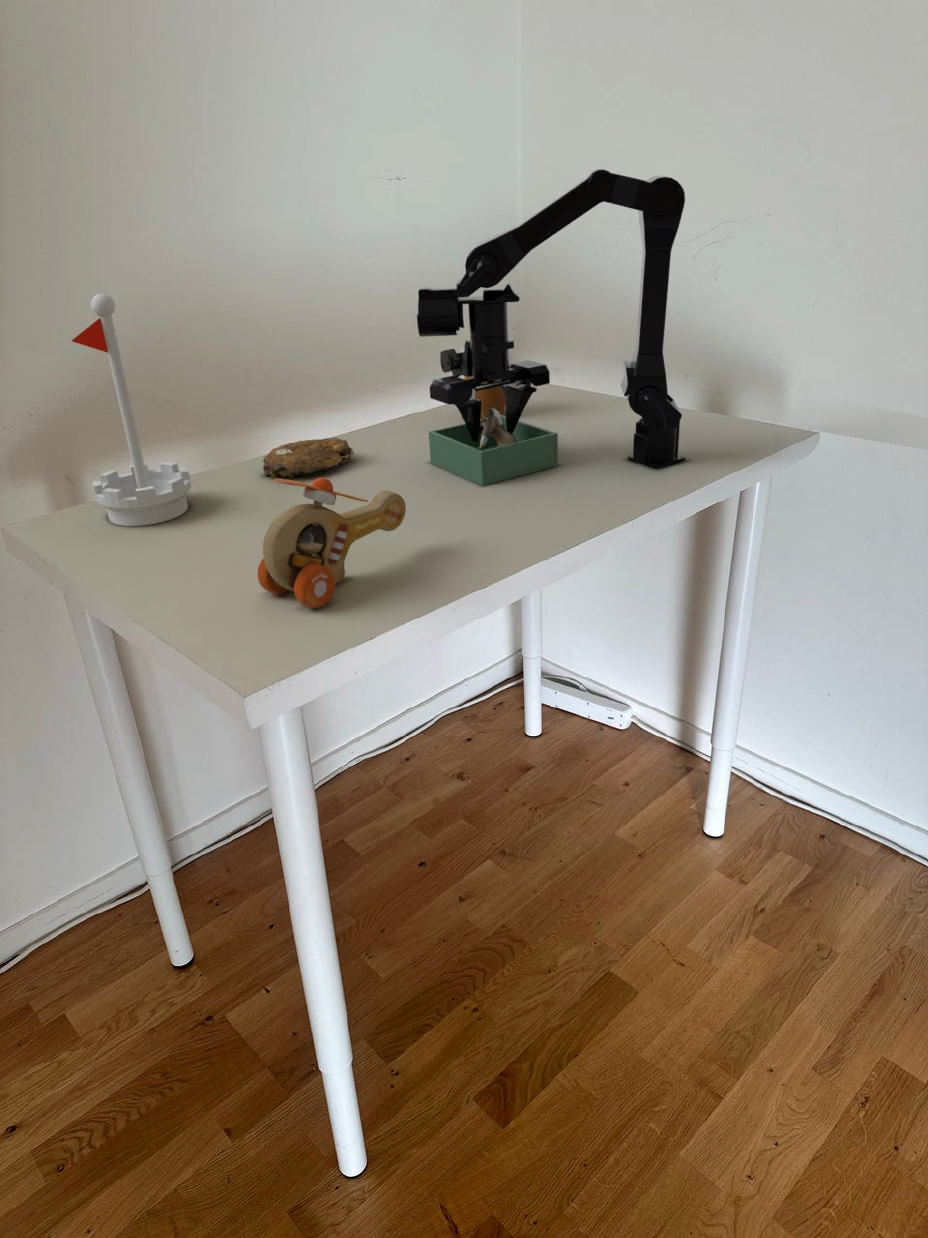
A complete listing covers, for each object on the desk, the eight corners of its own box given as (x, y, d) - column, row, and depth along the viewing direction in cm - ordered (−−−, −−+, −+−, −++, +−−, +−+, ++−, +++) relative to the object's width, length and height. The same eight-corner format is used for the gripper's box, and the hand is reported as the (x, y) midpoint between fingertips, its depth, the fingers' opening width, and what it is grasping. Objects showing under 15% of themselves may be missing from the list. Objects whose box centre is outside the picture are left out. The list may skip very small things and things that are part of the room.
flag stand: (167, 490, 140) (124, 283, 126) (212, 508, 131) (171, 290, 117) (86, 514, 132) (30, 297, 118) (127, 536, 123) (72, 304, 109)
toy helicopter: (252, 600, 104) (232, 485, 97) (380, 541, 117) (370, 437, 111) (299, 619, 99) (281, 499, 92) (427, 555, 112) (420, 447, 106)
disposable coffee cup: (514, 420, 165) (512, 353, 159) (461, 423, 165) (458, 355, 160) (512, 407, 173) (510, 342, 168) (462, 409, 174) (459, 345, 168)
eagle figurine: (451, 439, 143) (479, 441, 135) (467, 396, 142) (496, 396, 135) (489, 457, 147) (519, 461, 139) (505, 416, 146) (535, 417, 139)
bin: (502, 444, 152) (501, 414, 150) (557, 465, 141) (557, 433, 139) (430, 462, 146) (428, 431, 143) (482, 485, 134) (481, 452, 132)
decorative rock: (329, 451, 155) (253, 476, 146) (324, 427, 153) (247, 452, 144) (369, 461, 147) (291, 488, 138) (365, 436, 145) (286, 462, 136)
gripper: (508, 319, 145) (511, 416, 152) (407, 336, 136) (415, 438, 143) (551, 327, 136) (552, 429, 143) (447, 346, 127) (453, 454, 135)
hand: (493, 437), depth 141 cm, fingers closed on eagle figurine, 6 cm apart
